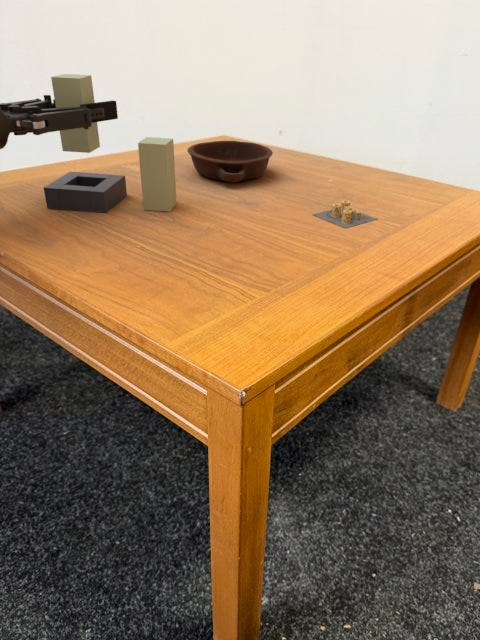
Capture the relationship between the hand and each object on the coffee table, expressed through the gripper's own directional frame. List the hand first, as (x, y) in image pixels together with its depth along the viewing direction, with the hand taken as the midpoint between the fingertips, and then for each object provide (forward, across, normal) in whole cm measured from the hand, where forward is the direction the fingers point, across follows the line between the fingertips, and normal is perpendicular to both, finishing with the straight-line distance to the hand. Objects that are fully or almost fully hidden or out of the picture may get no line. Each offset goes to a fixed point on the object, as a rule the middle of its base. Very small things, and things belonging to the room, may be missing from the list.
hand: (101, 107), depth 92 cm
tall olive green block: (-5, 0, -6) cm, 8 cm away
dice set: (+19, +38, -15) cm, 45 cm away
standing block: (+1, +11, -15) cm, 19 cm away
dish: (+26, +6, -15) cm, 31 cm away
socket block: (-5, 0, -15) cm, 16 cm away
